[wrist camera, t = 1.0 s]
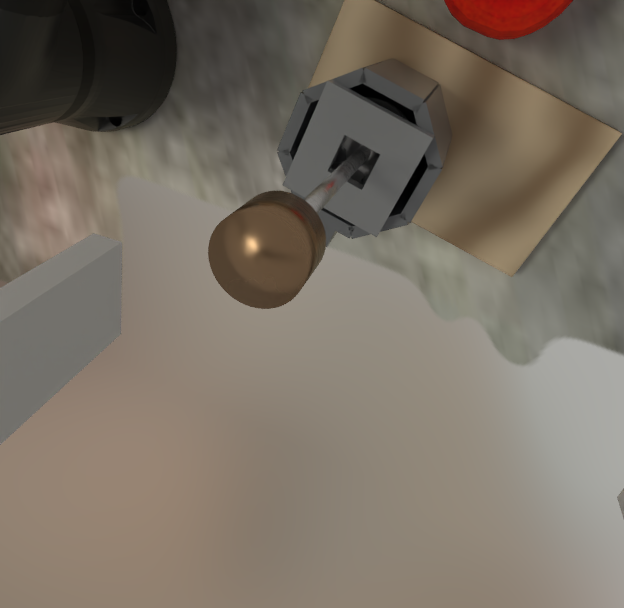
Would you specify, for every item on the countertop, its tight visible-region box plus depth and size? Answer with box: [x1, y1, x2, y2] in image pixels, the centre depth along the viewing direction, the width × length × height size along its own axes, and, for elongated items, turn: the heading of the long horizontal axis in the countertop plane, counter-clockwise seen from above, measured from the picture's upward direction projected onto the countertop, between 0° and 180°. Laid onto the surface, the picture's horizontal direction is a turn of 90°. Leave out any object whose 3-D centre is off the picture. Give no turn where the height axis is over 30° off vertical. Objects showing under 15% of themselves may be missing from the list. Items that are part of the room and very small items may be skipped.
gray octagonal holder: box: [277, 58, 452, 247], centre depth 38 cm, size 10×12×12 cm
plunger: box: [208, 97, 408, 309], centre depth 27 cm, size 7×7×20 cm
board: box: [308, 0, 622, 277], centre depth 42 cm, size 22×13×1 cm, turn 65°
